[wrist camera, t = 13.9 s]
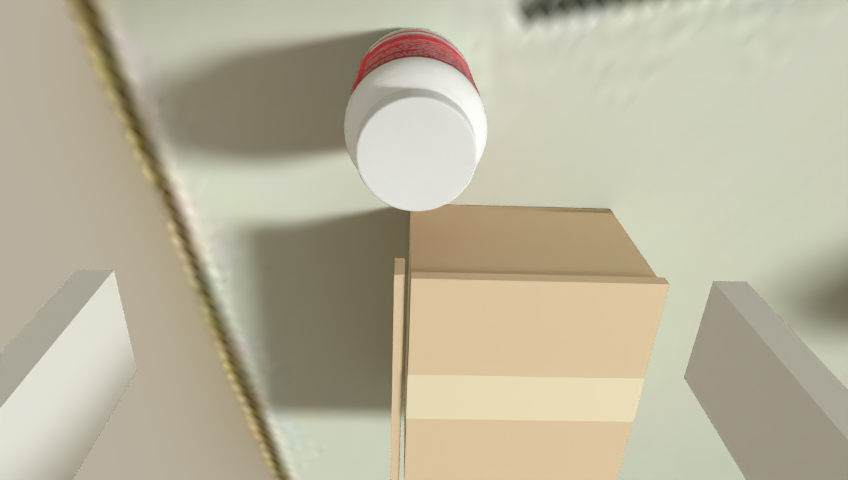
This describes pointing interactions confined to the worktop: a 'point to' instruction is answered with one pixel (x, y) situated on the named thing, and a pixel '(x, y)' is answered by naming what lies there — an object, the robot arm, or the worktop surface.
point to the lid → (520, 373)
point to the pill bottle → (415, 120)
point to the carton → (519, 245)
